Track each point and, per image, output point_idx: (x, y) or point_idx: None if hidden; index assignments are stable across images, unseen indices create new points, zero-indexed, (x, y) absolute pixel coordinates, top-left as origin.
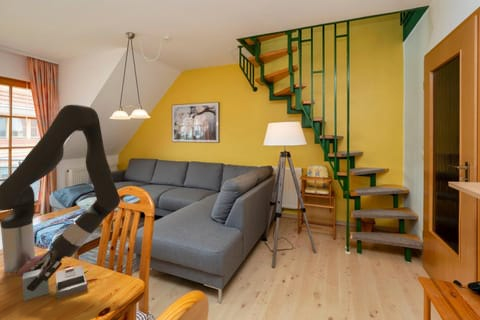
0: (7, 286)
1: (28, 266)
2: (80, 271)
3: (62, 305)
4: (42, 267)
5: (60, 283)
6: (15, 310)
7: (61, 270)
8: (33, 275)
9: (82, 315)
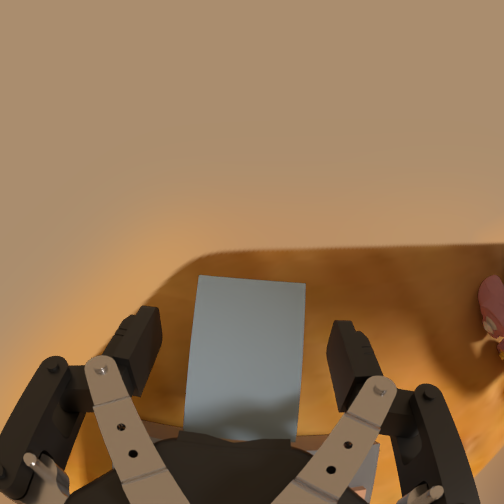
0: (429, 253)
1: (494, 308)
2: None
3: None
4: (95, 406)
5: None
6: None
7: (374, 469)
8: (204, 345)
9: None
